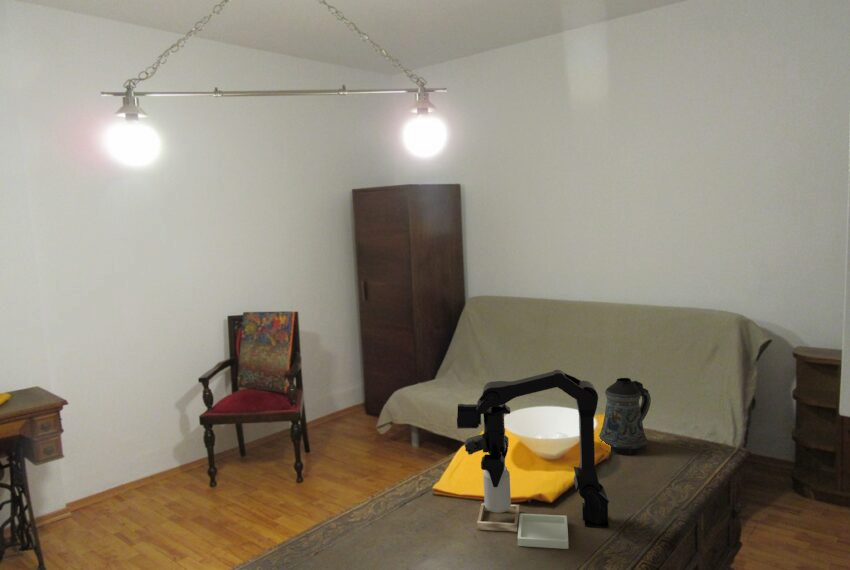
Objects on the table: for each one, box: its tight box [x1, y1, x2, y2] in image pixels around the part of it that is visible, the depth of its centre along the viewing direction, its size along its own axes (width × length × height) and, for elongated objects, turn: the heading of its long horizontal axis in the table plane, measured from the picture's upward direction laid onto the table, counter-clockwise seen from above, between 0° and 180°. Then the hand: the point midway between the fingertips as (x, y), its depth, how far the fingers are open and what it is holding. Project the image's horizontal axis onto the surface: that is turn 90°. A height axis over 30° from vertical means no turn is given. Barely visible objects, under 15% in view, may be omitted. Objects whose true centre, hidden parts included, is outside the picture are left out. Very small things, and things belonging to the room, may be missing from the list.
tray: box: [517, 512, 569, 550], centre depth 160 cm, size 13×13×2 cm
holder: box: [476, 502, 520, 533], centre depth 169 cm, size 11×11×2 cm
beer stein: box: [598, 377, 652, 456], centre depth 214 cm, size 16×19×25 cm
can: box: [482, 465, 512, 514], centre depth 168 cm, size 8×8×12 cm
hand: (496, 480), depth 168 cm, fingers closed on can, 7 cm apart
